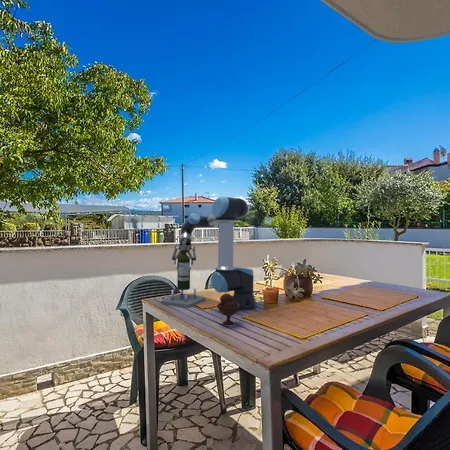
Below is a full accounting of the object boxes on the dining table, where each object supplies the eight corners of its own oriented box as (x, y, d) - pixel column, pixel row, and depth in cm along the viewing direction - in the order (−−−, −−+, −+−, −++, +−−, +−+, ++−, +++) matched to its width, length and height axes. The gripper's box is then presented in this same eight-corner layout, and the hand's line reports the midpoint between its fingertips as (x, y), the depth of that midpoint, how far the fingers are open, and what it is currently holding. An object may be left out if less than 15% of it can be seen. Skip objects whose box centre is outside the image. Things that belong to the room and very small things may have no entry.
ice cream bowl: (237, 328, 136) (238, 296, 136) (214, 326, 138) (215, 295, 138) (241, 321, 146) (241, 291, 147) (219, 319, 149) (219, 290, 149)
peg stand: (205, 300, 188) (205, 288, 188) (188, 308, 170) (188, 294, 170) (180, 297, 196) (180, 285, 197) (161, 303, 179) (161, 290, 179)
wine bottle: (179, 290, 179) (179, 242, 179) (176, 288, 186) (176, 241, 186) (191, 289, 182) (191, 241, 182) (187, 287, 189) (188, 241, 189)
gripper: (200, 244, 200) (200, 271, 184) (170, 244, 199) (167, 271, 182) (200, 237, 195) (199, 264, 178) (169, 237, 193) (165, 264, 177)
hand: (183, 268), depth 180 cm, fingers closed on wine bottle, 8 cm apart
